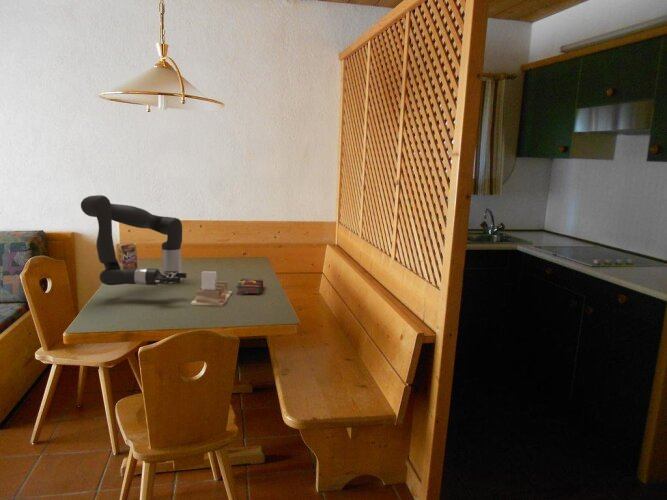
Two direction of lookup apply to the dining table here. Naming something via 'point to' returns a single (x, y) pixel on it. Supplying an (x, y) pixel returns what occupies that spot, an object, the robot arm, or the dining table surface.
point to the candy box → (127, 256)
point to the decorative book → (250, 286)
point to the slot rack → (213, 296)
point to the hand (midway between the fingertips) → (183, 277)
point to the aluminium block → (209, 281)
